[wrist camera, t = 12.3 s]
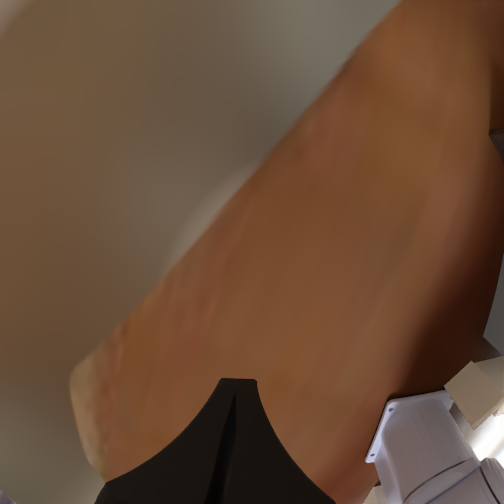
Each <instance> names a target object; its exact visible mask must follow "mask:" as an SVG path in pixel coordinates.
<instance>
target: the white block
mask: <svg viewBox="0 0 504 504" xmlns="http://www.w3.org/2000/svg"><path fill="white" fill-rule="evenodd" d="M483 337H484V338H485V339H486V340H487V341H488V342H489V343H490V344H491V345H492V346H493V347H494V348H496V349H497V350H498V351H499V352H500V353H501V354H502V355H503V356H504V255H503V260H502V266H501V271H500V275H499V280H498V284H497V288H496V292H495V296H494V300H493V304H492V308H491V311H490V315H489V318H488V321H487V325H486V328H485V331H484V334H483Z"/></svg>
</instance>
